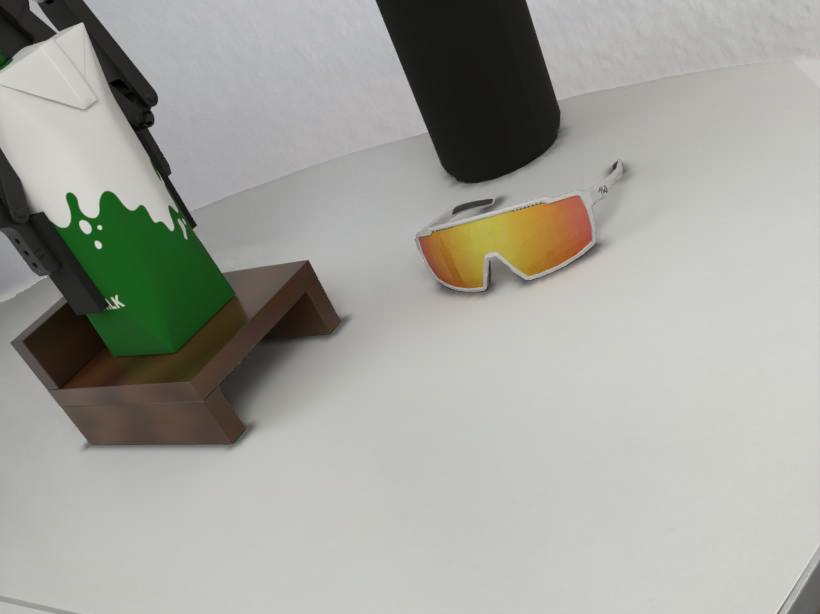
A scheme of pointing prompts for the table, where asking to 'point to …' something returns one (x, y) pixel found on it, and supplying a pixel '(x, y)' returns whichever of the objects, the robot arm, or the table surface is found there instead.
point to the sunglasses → (512, 236)
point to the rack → (172, 361)
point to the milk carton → (105, 197)
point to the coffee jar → (476, 82)
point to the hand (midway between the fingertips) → (138, 269)
